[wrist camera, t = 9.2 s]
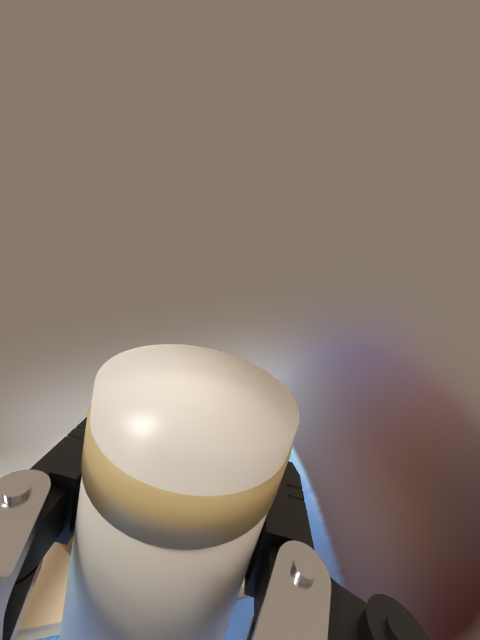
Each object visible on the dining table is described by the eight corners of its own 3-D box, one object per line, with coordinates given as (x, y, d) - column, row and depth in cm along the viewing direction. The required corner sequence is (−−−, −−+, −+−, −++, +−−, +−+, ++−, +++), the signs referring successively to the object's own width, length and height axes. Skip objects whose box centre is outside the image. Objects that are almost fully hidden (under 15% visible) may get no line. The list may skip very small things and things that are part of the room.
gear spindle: (13, 826, 6) (48, 462, 4) (79, 564, 11) (114, 334, 8) (227, 744, 8) (347, 460, 5) (203, 549, 12) (260, 354, 10)
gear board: (-4, 647, 15) (-3, 622, 15) (68, 467, 27) (71, 450, 27) (248, 596, 20) (255, 576, 20) (216, 464, 32) (220, 449, 32)
